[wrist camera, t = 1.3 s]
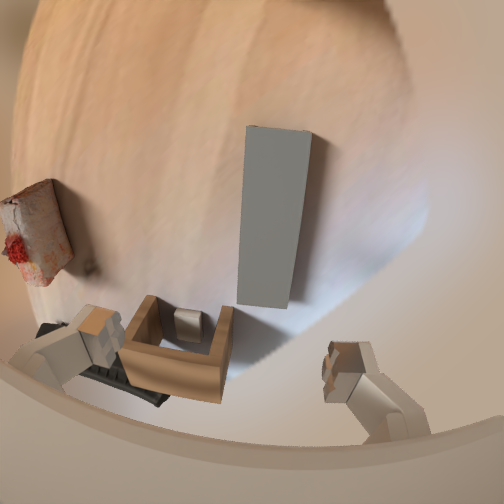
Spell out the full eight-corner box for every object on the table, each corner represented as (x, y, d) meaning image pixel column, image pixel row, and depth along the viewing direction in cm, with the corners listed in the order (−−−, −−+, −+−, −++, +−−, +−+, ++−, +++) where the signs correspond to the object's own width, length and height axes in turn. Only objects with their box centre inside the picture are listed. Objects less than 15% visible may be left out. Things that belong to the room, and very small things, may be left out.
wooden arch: (147, 295, 38) (115, 346, 29) (233, 307, 38) (219, 367, 28) (154, 334, 42) (130, 385, 33) (232, 347, 41) (220, 404, 32)
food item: (82, 262, 37) (45, 300, 28) (50, 263, 38) (14, 296, 29) (57, 174, 31) (7, 199, 22) (26, 184, 32) (-19, 208, 23)
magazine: (192, 400, 35) (15, 384, 28) (194, 410, 37) (24, 396, 30) (187, 320, 50) (43, 317, 43) (188, 333, 51) (48, 329, 45)
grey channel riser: (249, 125, 27) (246, 126, 24) (308, 130, 26) (312, 132, 24) (239, 289, 36) (236, 304, 33) (286, 294, 36) (287, 309, 33)
